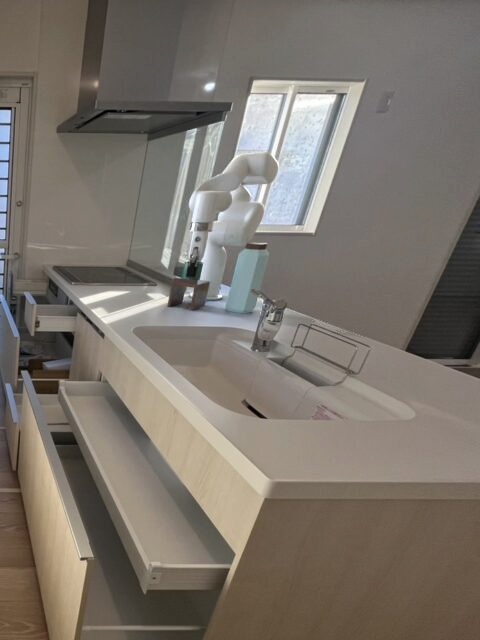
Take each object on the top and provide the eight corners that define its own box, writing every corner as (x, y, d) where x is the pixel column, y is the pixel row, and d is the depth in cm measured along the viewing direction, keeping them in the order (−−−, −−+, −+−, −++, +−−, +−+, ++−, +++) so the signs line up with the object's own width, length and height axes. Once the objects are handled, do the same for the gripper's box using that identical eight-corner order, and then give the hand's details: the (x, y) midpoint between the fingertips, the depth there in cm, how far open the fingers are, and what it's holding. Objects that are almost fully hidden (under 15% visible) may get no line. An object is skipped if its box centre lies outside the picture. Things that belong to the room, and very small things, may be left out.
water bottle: (244, 315, 154) (263, 245, 143) (219, 309, 162) (235, 243, 151) (260, 311, 158) (279, 243, 147) (234, 306, 166) (251, 241, 156)
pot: (186, 277, 167) (189, 260, 164) (202, 279, 162) (206, 262, 159) (178, 279, 163) (181, 262, 160) (195, 281, 158) (198, 264, 156)
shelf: (180, 301, 174) (186, 274, 169) (204, 306, 167) (211, 277, 162) (167, 306, 168) (172, 277, 163) (191, 310, 161) (198, 280, 156)
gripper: (211, 229, 146) (200, 279, 153) (213, 226, 159) (203, 272, 167) (187, 228, 150) (178, 278, 157) (192, 225, 163) (183, 271, 170)
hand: (191, 275), depth 162 cm, fingers closed on pot, 6 cm apart
